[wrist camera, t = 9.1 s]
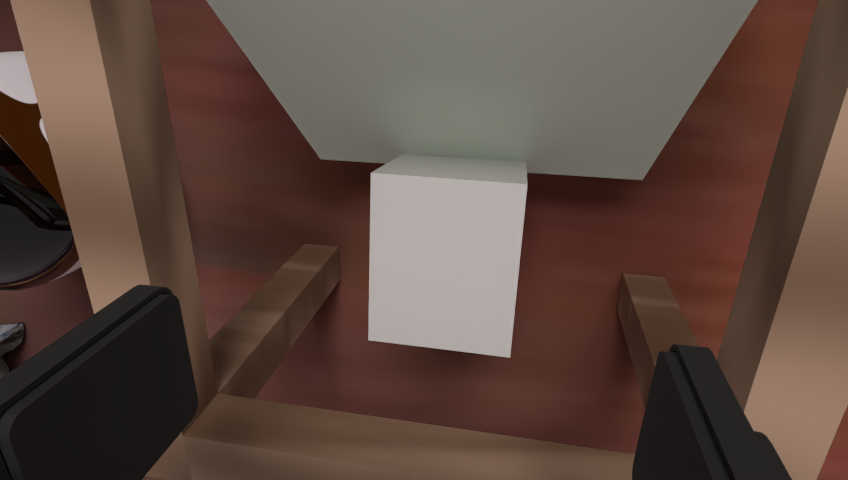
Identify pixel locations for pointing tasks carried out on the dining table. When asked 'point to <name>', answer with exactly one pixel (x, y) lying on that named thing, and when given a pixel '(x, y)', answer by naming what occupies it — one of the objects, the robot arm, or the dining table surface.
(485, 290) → the gray cube
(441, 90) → the trapdoor
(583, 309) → the dining table surface
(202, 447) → the trapdoor frame
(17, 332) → the fossil rock
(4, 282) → the spread jar
